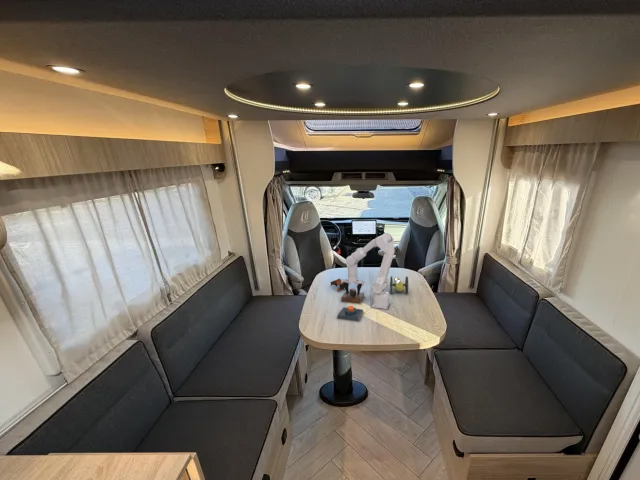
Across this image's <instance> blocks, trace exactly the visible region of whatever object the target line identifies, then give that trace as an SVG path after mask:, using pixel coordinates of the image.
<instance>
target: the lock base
mask: <svg viewBox="0 0 640 480" xmlns="http://www.w3.org/2000/svg"><path fill="white" fill-rule="evenodd" d="M340 298H341V299H340V301H341V303H349V304H356V305H360V304H361V303H362V301H363V300H364V298H365V292H360V293H359V296H357V291H356V296H350V290H349V293H348V294H346V291H345V292H344V293H343V294H342V296H341V297H340Z"/></svg>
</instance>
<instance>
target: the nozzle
mask: <svg viewBox="0 0 640 480" xmlns="http://www.w3.org/2000/svg"><path fill="white" fill-rule="evenodd" d="M354 307H355V306H353V305H348V306H347V307H346V308H347V310H348V311H353V310H354Z"/></svg>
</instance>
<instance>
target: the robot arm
mask: <svg viewBox="0 0 640 480" xmlns="http://www.w3.org/2000/svg"><path fill="white" fill-rule="evenodd" d="M374 247H376V248H377V247H378V248H379V249H380V250H381V251H382V252H383V253H384V254H383V257H382V261H381V263H380V264H381V265H380V268H379V272H378V275H377V278H376V279H375V281H374V283H373V284H372V286H371V291H372V292H373V303H372V305H371V308H375V309H382V310H383V309H384V310H388V308H389V306H390V304H391V303H390V297H391V295H390V294H391V293H390V292H388V291H387V288H388V284H389V283H388V280H389V279H388V275H389V272H390V268H391V265H392V261H393V258H394V255H395V253H396V251H395V245H394V238H393V237H392V235H391V234H390V233H388V232H384V233H383V234H381V235H379V236H376V237H375V238H374V239H372V240H370V241H369V242H368V243H367V244H366V245H365V246H363V247H357V248H356V249H355V251H354V252H351V255H348V256H347V257H346V258H345V263H346V265H347V278H342V279H340V280H341V283H343V286H344V290H345V292H346V294H348V293H349V291H350V287H349V285H356V292H357V296H359V293H361V289H362V287H363V286H365V281H364V280H360V279H358V263H360V261H361V260H362V259H364V258H365V257H366V256H367V253H368V252H369V251H371V250H372V249H373V248H374Z"/></svg>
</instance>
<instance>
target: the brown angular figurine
mask: <svg viewBox="0 0 640 480" xmlns="http://www.w3.org/2000/svg"><path fill="white" fill-rule="evenodd" d="M341 280H342V279H341V278H337V279H335V280H332V281H330V282H329V284H330V287H332V286H335V287H337V289H336V290H337V292H339V293H340V292H341V291H344V290H345V288H344V286H343V283H341Z"/></svg>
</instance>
